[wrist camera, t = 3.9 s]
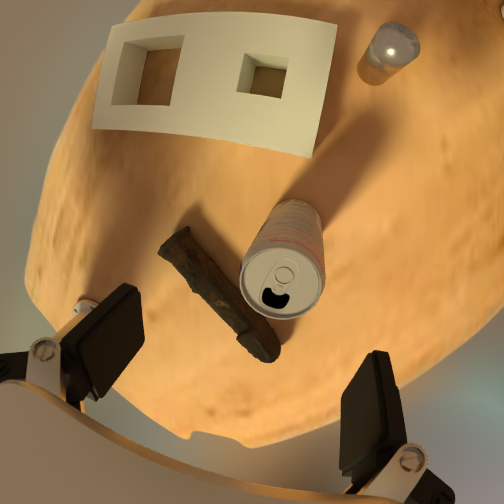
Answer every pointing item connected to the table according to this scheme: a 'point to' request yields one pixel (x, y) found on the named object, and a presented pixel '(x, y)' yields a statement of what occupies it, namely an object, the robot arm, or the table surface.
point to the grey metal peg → (388, 53)
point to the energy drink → (285, 262)
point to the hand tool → (221, 295)
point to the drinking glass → (502, 11)
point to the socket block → (221, 78)
